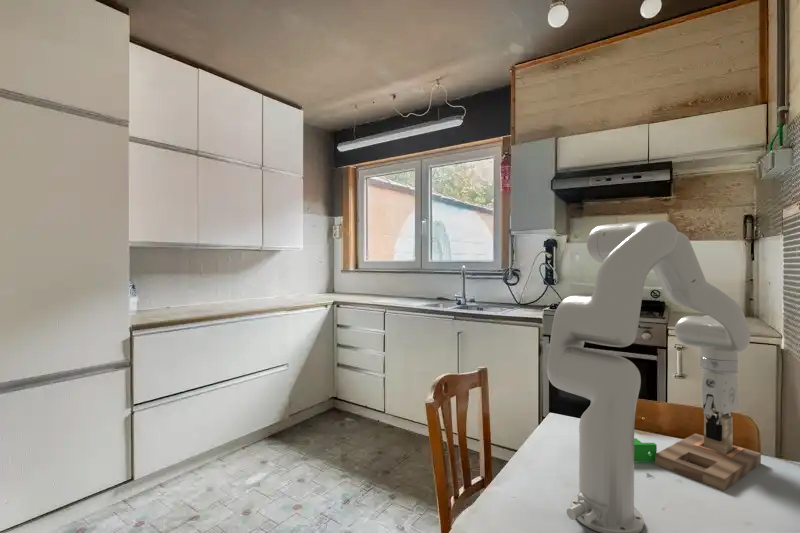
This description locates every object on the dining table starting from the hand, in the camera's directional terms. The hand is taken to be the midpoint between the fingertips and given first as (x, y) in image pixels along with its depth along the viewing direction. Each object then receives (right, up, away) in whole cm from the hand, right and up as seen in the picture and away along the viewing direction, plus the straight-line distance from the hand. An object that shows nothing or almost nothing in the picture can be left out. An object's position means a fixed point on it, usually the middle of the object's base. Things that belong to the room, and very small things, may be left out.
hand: (718, 436), depth 104 cm
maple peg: (0, -4, 0) cm, 4 cm away
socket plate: (-5, -5, -3) cm, 8 cm away
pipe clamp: (-23, -6, -1) cm, 23 cm away
